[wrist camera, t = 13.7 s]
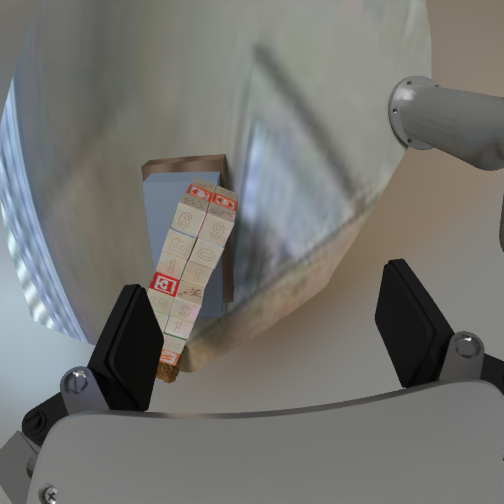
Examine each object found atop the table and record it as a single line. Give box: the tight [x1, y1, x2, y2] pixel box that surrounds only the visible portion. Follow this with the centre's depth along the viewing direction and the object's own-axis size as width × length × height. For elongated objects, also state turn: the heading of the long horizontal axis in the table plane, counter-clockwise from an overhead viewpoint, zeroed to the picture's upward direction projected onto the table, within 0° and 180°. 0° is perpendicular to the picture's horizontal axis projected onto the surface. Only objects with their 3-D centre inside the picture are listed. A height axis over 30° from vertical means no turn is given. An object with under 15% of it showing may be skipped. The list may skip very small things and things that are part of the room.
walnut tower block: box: [141, 154, 234, 302], centre depth 49 cm, size 12×25×4 cm, turn 1°
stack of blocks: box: [147, 177, 238, 366], centre depth 37 cm, size 21×6×12 cm, turn 156°
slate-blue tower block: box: [142, 172, 223, 318], centre depth 45 cm, size 10×23×4 cm, turn 179°
